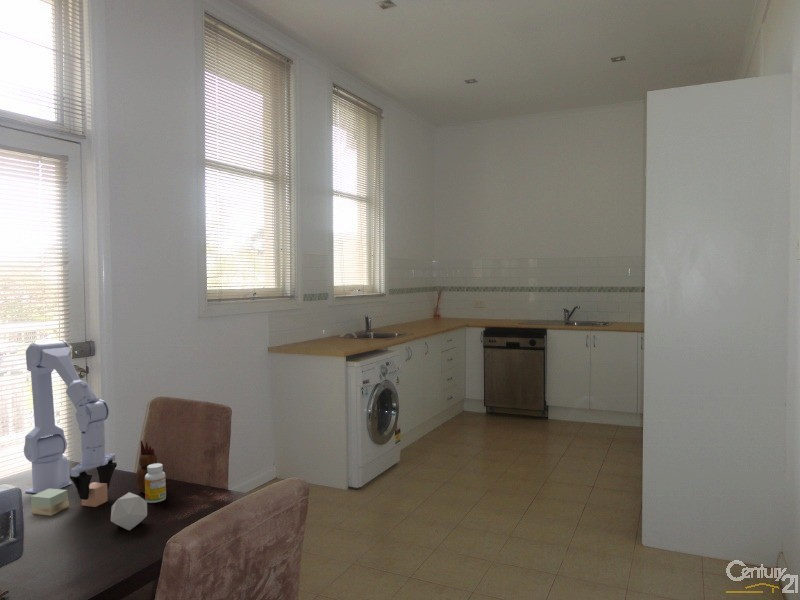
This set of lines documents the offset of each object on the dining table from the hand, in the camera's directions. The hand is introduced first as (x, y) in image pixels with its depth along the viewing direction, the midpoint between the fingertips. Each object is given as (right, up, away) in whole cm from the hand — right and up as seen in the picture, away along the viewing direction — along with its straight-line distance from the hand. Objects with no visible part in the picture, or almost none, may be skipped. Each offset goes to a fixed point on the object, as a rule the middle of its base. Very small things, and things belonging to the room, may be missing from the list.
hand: (94, 494), depth 164 cm
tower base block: (-9, -3, -5) cm, 11 cm away
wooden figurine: (+11, -2, +9) cm, 14 cm away
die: (+17, -3, -15) cm, 23 cm away
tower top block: (-10, -1, -5) cm, 11 cm away
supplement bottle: (+16, -3, +2) cm, 16 cm away
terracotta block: (0, -3, 0) cm, 3 cm away
